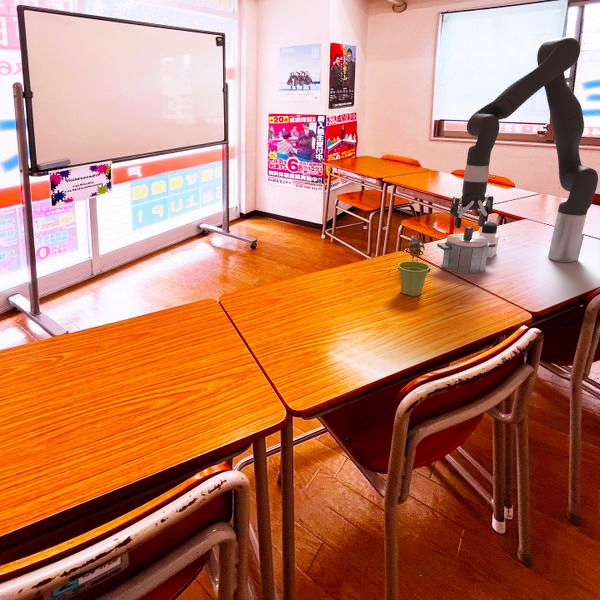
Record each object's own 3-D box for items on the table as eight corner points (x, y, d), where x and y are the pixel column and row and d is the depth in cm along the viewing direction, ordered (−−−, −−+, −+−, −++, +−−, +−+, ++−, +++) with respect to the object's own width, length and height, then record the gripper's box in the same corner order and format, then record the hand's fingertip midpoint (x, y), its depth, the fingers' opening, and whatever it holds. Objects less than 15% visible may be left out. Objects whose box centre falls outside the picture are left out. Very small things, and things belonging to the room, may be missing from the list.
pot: (477, 258, 186) (480, 234, 182) (499, 271, 173) (504, 246, 170) (428, 261, 182) (431, 237, 178) (448, 275, 169) (451, 249, 166)
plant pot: (392, 287, 159) (394, 261, 156) (421, 286, 160) (424, 260, 157) (400, 298, 151) (402, 271, 147) (430, 298, 152) (434, 270, 148)
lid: (474, 235, 181) (476, 221, 179) (496, 246, 169) (498, 231, 167) (439, 237, 179) (441, 223, 177) (459, 248, 166) (461, 234, 164)
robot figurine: (431, 266, 177) (435, 233, 173) (430, 275, 169) (434, 241, 164) (399, 263, 180) (402, 230, 175) (397, 272, 172) (400, 238, 167)
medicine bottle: (496, 253, 192) (501, 222, 187) (491, 258, 186) (496, 226, 181) (477, 249, 195) (481, 219, 190) (472, 254, 190) (476, 223, 185)
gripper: (488, 176, 170) (481, 223, 177) (450, 177, 167) (444, 225, 174) (501, 179, 163) (494, 228, 170) (461, 181, 160) (455, 231, 167)
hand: (469, 227), depth 172 cm, fingers open, 8 cm apart
